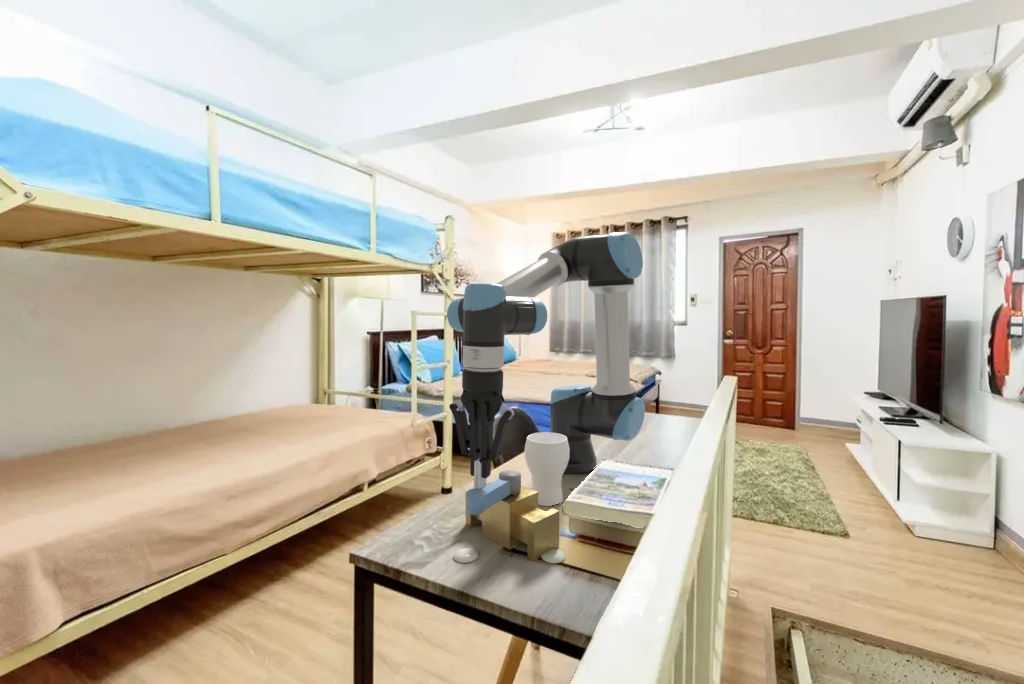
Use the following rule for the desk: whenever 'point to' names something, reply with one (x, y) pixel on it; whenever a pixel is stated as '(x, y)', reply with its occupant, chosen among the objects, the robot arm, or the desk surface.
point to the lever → (494, 492)
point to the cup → (547, 465)
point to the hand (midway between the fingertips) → (480, 493)
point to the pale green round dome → (553, 556)
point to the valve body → (519, 523)
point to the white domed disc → (465, 555)
